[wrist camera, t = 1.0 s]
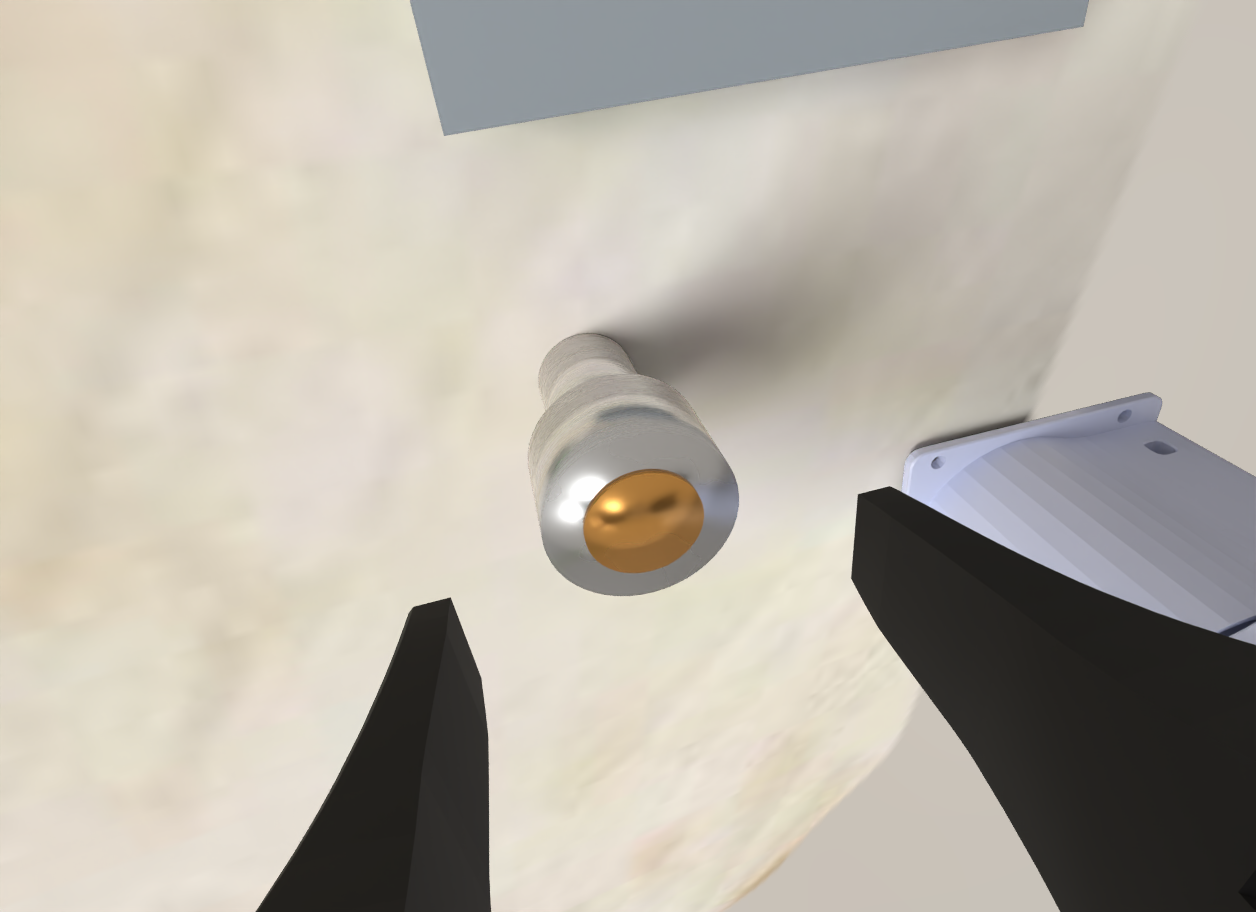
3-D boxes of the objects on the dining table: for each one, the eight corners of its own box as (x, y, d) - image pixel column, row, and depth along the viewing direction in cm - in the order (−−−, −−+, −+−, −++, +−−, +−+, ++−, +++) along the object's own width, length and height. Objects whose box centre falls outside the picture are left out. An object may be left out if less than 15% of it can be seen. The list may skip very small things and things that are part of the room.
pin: (648, 294, 18) (738, 415, 12) (662, 423, 20) (745, 575, 15) (497, 325, 18) (522, 466, 12) (529, 454, 20) (562, 623, 14)
